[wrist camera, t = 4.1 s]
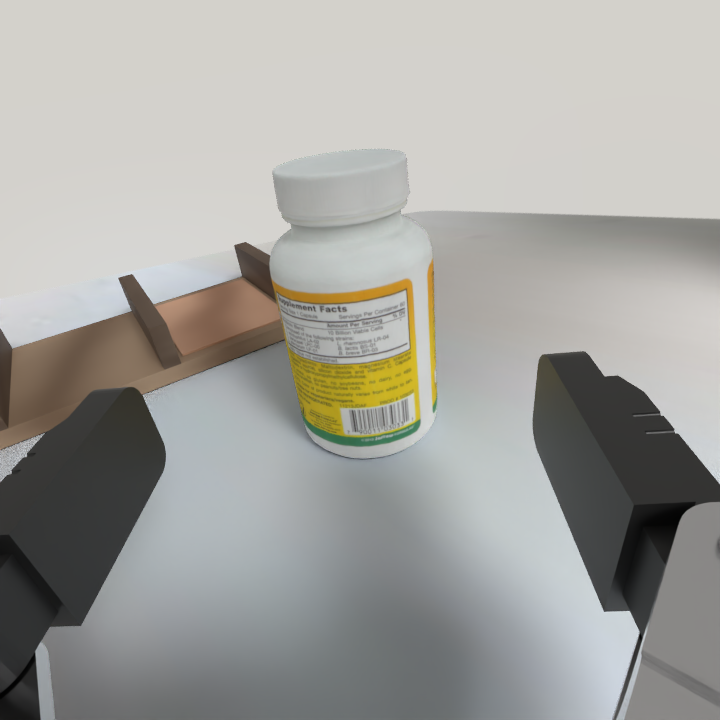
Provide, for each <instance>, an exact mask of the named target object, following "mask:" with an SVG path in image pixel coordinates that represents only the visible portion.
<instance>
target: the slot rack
mask: <svg viewBox="0 0 720 720" xmlns="http://www.w3.org/2000/svg"><path fill="white" fill-rule="evenodd" d="M235 250H236V254H237V258H238V262H239V265H240V269H241V273H242V277H240V278H236V279H233V280H230V281H227V282H224V283H221V284H217V285H214V286H211V287H208V288H205V289H201V290H198V291H195V292H192V293H189V294H185V295H182V296H179V297H176V298H173V299H170V300H166V301H163V302H160V303H157V304H154V305H153V303H152V302H151V300H150V299H149V298H148V296H147V295H146V293H145V292H144V290H143V289H142V288H141V286H140V285H139V283H138V282H137V280H136V279H135V277H134V276H133V275H132V274H131V275H127V276H124V277H120V278H118V279H119V281H120V284H121V286H122V288H123V291H124V293H125V296H126V298H127V300H128V303H129V305H130V308H131V310H132V311H131V312H128V313H125V314H122V315H119V316H115V317H112V318H109V319H106V320H103V321H99V322H96V323H93V324H90V325H87V326H84V327H80V328H77V329H74V330H71V331H68V332H64V333H61V334H58V335H55V336H52V337H48V338H45V339H42V340H39V341H36V342H33V343H29V344H26V345H23V346H20V347H17V348H13V349H12V347H11V346H10V344H9V342H8V341H7V339H6V337H5V336H4V334H3V332H2V330H1V329H0V450H1V449H3V448H6V447H8V446H11V445H13V444H16V443H19V442H21V441H24V440H26V439H29V438H31V437H34V436H37V435H39V434H42V433H44V432H47V431H50V430H51V429H52V428H54V427H55V426H57V425H58V424H59V423H61V422H62V421H64V420H65V419H67V418H68V417H69V416H70V415H71V413H72V412H73V411H74V410H75V409H76V408H77V407H78V406H79V404H80V403H81V402H82V401H83V400H84V399H85V398H86V397H87V395H88V394H89V393H90V392H92V391H93V390H97V389H109V388H121V387H134V388H136V389H138V390H139V391H140V393H141V394H145V393H147V392H150V391H153V390H155V389H158V388H160V387H163V386H165V385H168V384H171V383H173V382H176V381H178V380H181V379H184V378H186V377H189V376H191V375H194V374H196V373H199V372H202V371H204V370H207V369H209V368H212V367H214V366H217V365H220V364H222V363H225V362H227V361H230V360H232V359H235V358H238V357H240V356H243V355H245V354H248V353H250V352H253V351H256V350H258V349H261V348H263V347H266V346H269V345H271V344H274V343H276V342H279V341H281V340H284V339H285V336H284V332H283V328H282V323H281V319H280V315H279V310H278V306H277V302H276V297H275V293H274V288H273V284H272V279H271V274H270V265H269V262H270V255H268V254H266V253H264V252H262V251H261V250H259V249H257V248H255V247H253V246H252V245H250V244H248V243H246V242H244V243H241V244H237V245H235Z"/></svg>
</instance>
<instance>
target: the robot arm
mask: <svg viewBox="0 0 720 720" xmlns="http://www.w3.org/2000/svg"><path fill="white" fill-rule="evenodd" d="M533 434H534V440H535V444H536V448H537V451H538V453H539V456H540V458H541V461H542V463H543V465H544V468H545V470H546V473H547V475H548V478H549V480H550V482H551V485H552V487H553V490H554V492H555V494H556V497H557V499H558V502H559V504H560V506H561V509H562V511H563V514H564V516H565V519H566V521H567V523H568V526H569V528H570V531H571V533H572V535H573V538H574V540H575V543H576V545H577V547H578V550H579V552H580V555H581V557H582V560H583V562H584V564H585V567H586V569H587V572H588V574H589V576H590V579H591V581H592V584H593V586H594V588H595V591H596V593H597V596H598V598H599V600H600V603H601V605H602V608H603V610H604V612H607V611H630V612H631V614H632V616H633V618H634V620H635V623H636V625H637V627H638V629H639V631H640V632H639V634H638V637H637V640H636V643H635V646H634V649H633V653H632V656H631V659H630V662H629V666H628V669H627V672H626V675H625V679H624V682H623V685H622V688H621V692H620V695H619V698H618V701H617V704H616V708H615V711H614V714H613V717H612V720H720V484H719V483H718V482H717V480H716V479H715V478H714V477H713V476H712V474H711V473H710V472H709V471H708V469H707V468H706V467H705V466H704V465H703V463H702V462H701V461H700V460H699V459H698V457H697V456H696V455H695V454H694V452H693V451H692V450H691V449H690V448H689V446H688V445H687V444H686V443H685V441H684V440H683V439H682V438H681V437H680V435H679V434H675V432H674V428H673V427H672V426H671V424H670V423H669V422H668V421H667V419H666V418H665V417H664V416H661V415H660V411H659V410H658V408H657V407H656V406H655V405H654V404H653V402H652V401H651V400H650V399H649V397H648V396H647V395H646V394H645V393H644V392H643V391H642V390H640V389H639V388H637V387H635V386H634V385H632V384H631V383H629V382H627V381H626V380H624V379H622V378H621V377H619V376H607V377H604V375H603V374H602V372H601V371H600V370H599V368H598V367H597V366H596V364H595V363H594V361H593V360H592V359H591V357H590V356H589V355H588V354H587V353H586V352H584V351H582V352H569V353H557V354H544V355H542V356H541V357H540V359H539V363H538V371H537V381H536V391H535V401H534V411H533ZM165 460H166V452H165V446H164V443H163V440H162V438H161V436H160V434H159V432H158V429H157V427H156V425H155V423H154V420H153V418H152V416H151V414H150V412H149V409H148V407H147V405H146V403H145V400H144V398H143V396H142V394H141V393H140V391H139V390H138V389H136V388H134V387H121V388H109V389H97V390H93V391H92V392H90V393H89V394H88V395H87V397H86V398H85V399H84V400H83V401H82V402H81V403H80V404H79V406H78V407H77V408H76V409H75V410H74V411H73V412H72V413H71V415H70V416H69V417H68V418H67V419H65V420H64V421H62V422H61V423H59V424H58V425H57V426H55V427H54V428H52V429H51V430H50V431H48V432H47V433H45V434H44V435H43V437H42V438H41V439H40V440H39V441H38V442H37V443H36V444H35V445H34V446H33V447H32V449H31V450H30V451H29V452H28V453H27V457H25V458H22V460H21V461H20V462H19V463H18V464H17V465H16V466H15V467H14V468H13V469H12V474H11V475H7V476H6V477H5V478H4V479H3V480H2V481H1V483H0V720H55V711H54V701H53V692H52V682H51V672H50V663H49V654H48V650H47V648H46V646H45V645H44V644H43V643H42V642H41V641H42V639H43V637H44V635H45V634H46V632H47V630H48V629H49V627H56V626H81V625H82V623H83V621H84V619H85V617H86V615H87V613H88V611H89V610H90V608H91V606H92V604H93V602H94V600H95V598H96V596H97V595H98V593H99V591H100V589H101V587H102V585H103V583H104V581H105V580H106V578H107V576H108V574H109V572H110V570H111V568H112V566H113V565H114V563H115V561H116V559H117V557H118V555H119V553H120V552H121V550H122V548H123V546H124V544H125V542H126V540H127V538H128V537H129V535H130V533H131V531H132V529H133V527H134V525H135V523H136V522H137V520H138V518H139V516H140V514H141V512H142V510H143V508H144V507H145V505H146V503H147V501H148V499H149V497H150V495H151V493H152V492H153V490H154V488H155V486H156V484H157V482H158V480H159V478H160V477H161V475H162V473H163V470H164V467H165Z"/></svg>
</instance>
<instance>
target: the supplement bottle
mask: <svg viewBox="0 0 720 720" xmlns="http://www.w3.org/2000/svg"><path fill="white" fill-rule="evenodd" d="M273 180H274V187H275V192H276V198H277V204H278V209H279V211H280V212H281V214H282V218H283V219H284V220H285V221H287V222H288V223H291V228H292V229H290V230H289V231H287V232H286V233H285V234H284V235H283V236H281V237H280V239H279V240H278V241H277V242H276V244H275V245H274V248H273V250H272V252H271V256H270V262H269V265H270V274H271V279H272V284H273V288H274V293H275V297H276V302H277V306H278V310H279V315H280V319H281V323H282V328H283V332H284V336H285V341H286V346H287V350H288V355H289V359H290V364H291V368H292V373H293V377H294V382H295V386H296V390H297V395H298V399H299V403H300V408H301V412H302V416H303V420H304V424H305V427H306V430H307V432H308V434H309V436H310V437H311V438H312V440H313V441H314V442H316V443H317V444H318V445H320V446H321V447H322V448H324V449H326V450H328V451H330V452H333V453H335V454H338V455H341V456H345V457H350V458H362V459H365V458H377V457H384V456H388V455H391V454H395V453H397V452H400V451H402V450H404V449H406V448H408V447H410V446H412V445H413V444H415V443H416V442H418V441H419V440H420V439H421V438H422V437H423V436H424V435H425V434H426V433H427V432H428V431H429V429H430V428H431V426H432V424H433V422H434V420H435V418H436V413H437V383H436V353H435V317H434V271H433V252H432V244H431V241H430V238H429V236H428V234H427V233H426V231H425V230H424V229H423V228H422V226H420V225H419V224H418V223H417V222H415V221H414V220H412V219H410V218H408V217H406V216H403V215H401V209H402V208H404V207H405V205H406V204H407V197H408V195H409V193H410V191H409V184H408V172H407V158H406V155H405V154H404V153H403V152H401V151H397V150H388V149H362V150H349V151H339V152H331V153H325V154H318V155H314V156H308V157H304V158H299V159H295V160H292V161H289V162H286V163H283V164H281V165H279V166H277V167H276V168H275V169H274V170H273Z"/></svg>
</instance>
